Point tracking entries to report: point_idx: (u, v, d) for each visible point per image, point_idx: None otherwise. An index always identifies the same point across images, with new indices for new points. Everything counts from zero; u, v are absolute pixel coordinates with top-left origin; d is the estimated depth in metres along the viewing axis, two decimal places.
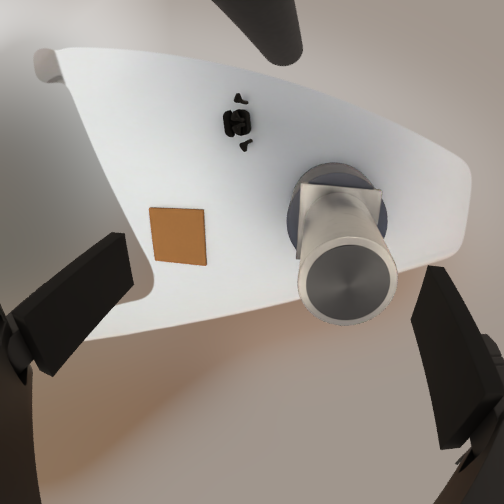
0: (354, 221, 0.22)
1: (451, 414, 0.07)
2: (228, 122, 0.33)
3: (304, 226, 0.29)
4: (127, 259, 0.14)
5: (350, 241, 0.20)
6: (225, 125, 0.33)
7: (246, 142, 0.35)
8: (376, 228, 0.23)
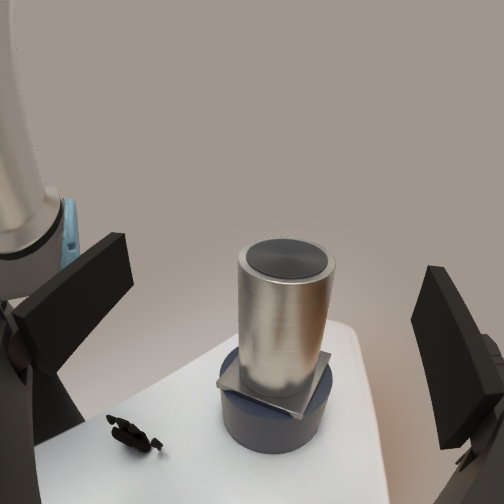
0: None
1: (451, 414, 0.07)
2: (121, 432, 0.24)
3: (253, 368, 0.24)
4: (127, 259, 0.14)
5: (246, 249, 0.24)
6: (122, 437, 0.24)
7: (154, 438, 0.25)
8: None
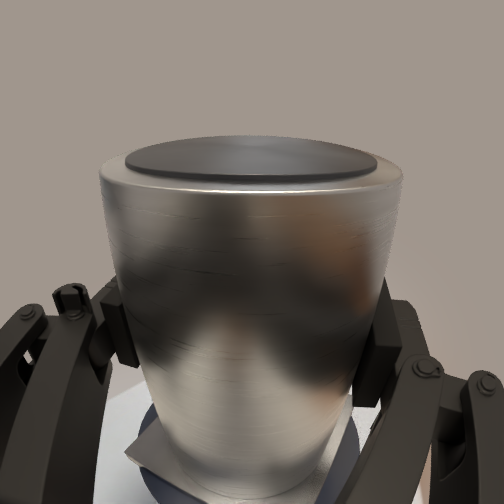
0: None
1: (359, 370, 0.09)
2: None
3: (181, 450, 0.09)
4: None
5: (146, 148, 0.08)
6: None
7: None
8: None
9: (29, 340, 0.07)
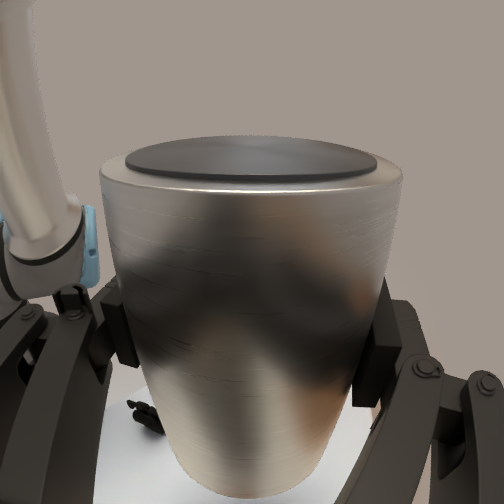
0: None
1: (359, 370, 0.09)
2: (142, 414, 0.29)
3: (181, 450, 0.09)
4: None
5: (146, 148, 0.08)
6: (142, 419, 0.28)
7: None
8: None
9: (29, 340, 0.07)
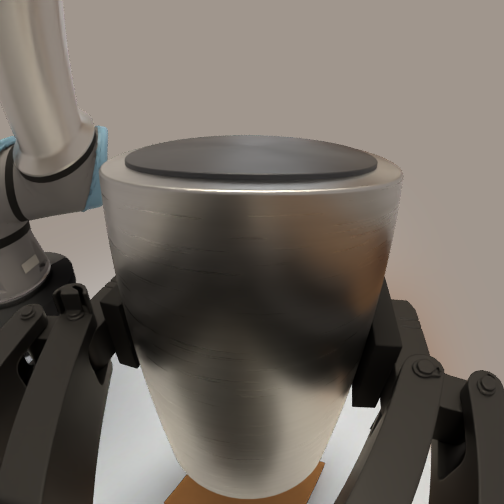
0: None
1: (359, 370, 0.09)
2: None
3: (180, 450, 0.09)
4: None
5: (146, 148, 0.08)
6: None
7: None
8: None
9: (29, 340, 0.07)
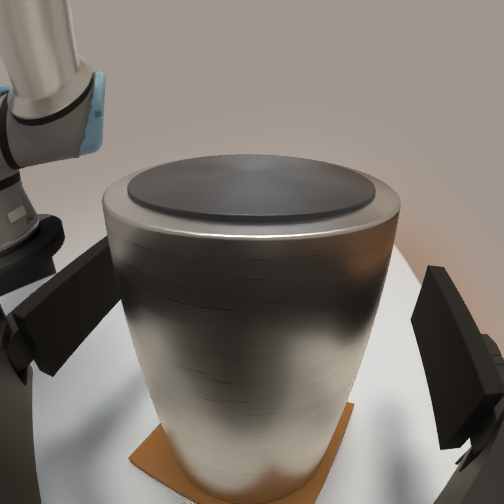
0: None
1: (451, 414, 0.07)
2: None
3: (184, 459, 0.09)
4: None
5: (148, 170, 0.09)
6: None
7: None
8: None
9: None
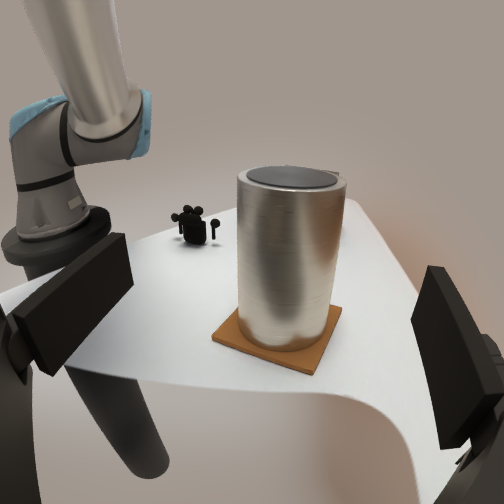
0: None
1: (451, 414, 0.07)
2: (188, 213, 0.38)
3: (255, 312, 0.22)
4: (127, 259, 0.14)
5: (246, 171, 0.21)
6: (188, 216, 0.37)
7: None
8: None
9: None
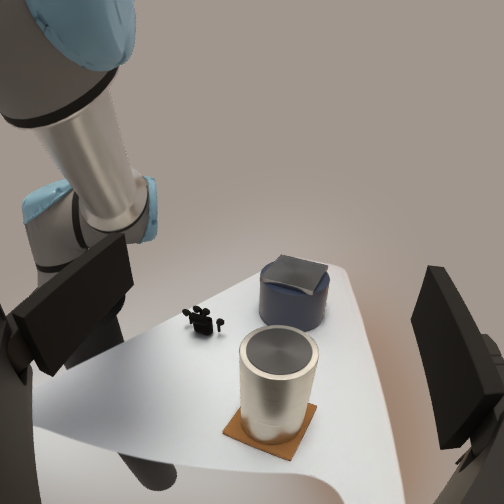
0: None
1: (451, 414, 0.07)
2: (197, 314, 0.45)
3: (252, 426, 0.29)
4: (127, 259, 0.14)
5: (246, 341, 0.28)
6: (197, 317, 0.44)
7: (218, 319, 0.46)
8: None
9: None
